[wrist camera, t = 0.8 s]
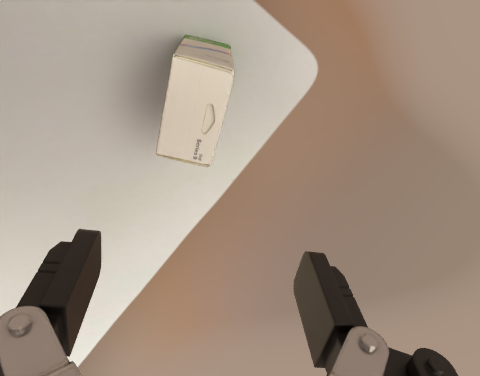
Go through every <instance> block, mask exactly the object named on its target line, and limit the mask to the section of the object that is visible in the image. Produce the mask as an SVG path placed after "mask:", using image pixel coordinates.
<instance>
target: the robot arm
mask: <svg viewBox="0 0 480 376" xmlns="http://www.w3.org/2000/svg"><path fill="white" fill-rule="evenodd" d="M100 269H101V232H100V231H95V230H85V229H79V230H78V231H77V233H76V234H75V236H74V238H73V240H72V242H62V241H61V242H60V243H58V244H57V245H56V246H55V247H53V248H52V249H51V250H49V252H48V254H47V256H46V257H45V259H44V261H43V263H42V264H41V266H40V268H39V269H38V272H37V273H36V274H35V276H34V278H33V280H32V281H31V283H30V285H29V286H28V288H27V290H26V292H25V293H24V295H23V297H22V298H21V300H20V302H19V303H18V305H17V307H16V308H14V309H12V310H10V311H8V312H6V313H4V314H3V315H2V316H0V376H81V374H80V372H79V370H78V368H77V366H76V364H75V363H74V362H73V361H71V362H69V360H68V358H67V356H70V354H71V352H72V349H73V346H74V343H75V341H76V338H77V335H78V333H79V330H80V327H81V324H82V322H83V319H84V316H85V313H86V311H87V308H88V305H89V303H90V300H91V297H92V294H93V292H94V289H95V286H96V283H97V281H98V278H99V274H100ZM294 295H295V299H296V302H297V305H298V309H299V313H300V317H301V320H302V324H303V328H304V331H305V335H306V338H307V342H308V346H309V349H310V353H311V357H312V360H313V364H314V367H317V368H325V369H326V372H327V376H458V375H457V373H456V371H455V369H454V368H453V366H452V365H451V364H450V362H449V361H448V360H447V359H446V358H444V357H443V356H442V355H440V354H439V353H437V352H436V351H433V350H430V349H427V348H420V349H417V350H416V351H415V352H414V354H413V355H412V356H411V355H409V354H406V353H403V352H400V351H397V350H394V349H392V348H389V347H388V346H387V343H386V342H385V340H384V339H383V338H382V337H381V336H380V335H379V334H378V333H376V332H375V331H373V330H371V329H369V328H368V326H367V324H366V322H365V320H364V318H363V316H362V314H361V312H360V309H359V307H358V305H357V303H356V300H355V298H354V297H353V294H352V292H351V290H350V289H349V285H348V283H347V281H346V279H345V277H344V276H343V274H342V273H341V272H340V271H339V270H338V269H337V268H336V267H333V266H330V265H329V262H328V260H327V258H326V255H325V254H324V253H316V252H305V253H304V254H303V257H302V259H301V262H300V265H299V268H298V271H297V273H296V276H295V279H294Z"/></svg>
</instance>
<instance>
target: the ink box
mask: <svg viewBox="0 0 480 376" xmlns="http://www.w3.org/2000/svg"><path fill="white" fill-rule="evenodd" d="M234 73H235V72H234V67H233V61H232V54H231V47H230V46H229V45H226V44H223V43H219V42H215V41H210V40H206V39H202V38H198V37H194V36H190V35H186V36H185V37H184V39H183V40H182V42H181V43H180V45H179V46H178V48H177V49H176V51H175V53H174V54H173V57H172V63H171V69H170V75H169V80H168V86H167V92H166V97H165V103H164V108H163V114H162V120H161V126H160V132H159V138H158V144H157V150H156V155H158V156H162V157H165V158H169V159H173V160H177V161H181V162H186V163H190V164H195V165H199V166H204V167H208V166H211V165H212V161H213V158H214V154H215V150H216V146H217V142H218V138H219V134H220V130H221V127H222V124H223V120H224V115H225V111H226V107H227V104H228V101H229V97H230V91H231V89H232V86H233V81H234V79H233V78H234Z"/></svg>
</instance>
